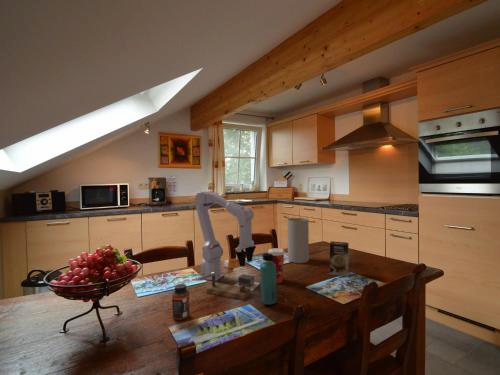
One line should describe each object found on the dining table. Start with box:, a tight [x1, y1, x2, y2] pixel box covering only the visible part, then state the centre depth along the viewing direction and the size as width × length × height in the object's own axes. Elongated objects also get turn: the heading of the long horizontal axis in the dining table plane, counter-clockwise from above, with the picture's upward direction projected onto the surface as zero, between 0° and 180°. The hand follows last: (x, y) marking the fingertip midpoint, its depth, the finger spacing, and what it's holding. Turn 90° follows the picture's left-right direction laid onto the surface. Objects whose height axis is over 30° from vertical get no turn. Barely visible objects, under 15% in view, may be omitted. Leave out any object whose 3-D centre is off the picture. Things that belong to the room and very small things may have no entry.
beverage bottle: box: [259, 252, 278, 305], centre depth 102 cm, size 6×7×20 cm
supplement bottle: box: [171, 283, 191, 321], centre depth 94 cm, size 6×6×11 cm
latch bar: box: [197, 271, 216, 281], centre depth 113 cm, size 9×2×1 cm, turn 140°
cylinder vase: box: [286, 217, 310, 264], centre depth 157 cm, size 12×12×25 cm
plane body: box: [206, 276, 251, 301], centre depth 113 cm, size 18×7×7 cm, turn 65°
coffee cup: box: [267, 247, 285, 284], centre depth 126 cm, size 8×8×15 cm
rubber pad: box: [233, 281, 261, 292], centre depth 121 cm, size 10×9×1 cm
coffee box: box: [329, 241, 350, 278], centre depth 133 cm, size 9×6×16 cm
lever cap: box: [237, 274, 255, 288], centre depth 120 cm, size 6×4×4 cm
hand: (246, 263), depth 120 cm, fingers open, 7 cm apart
